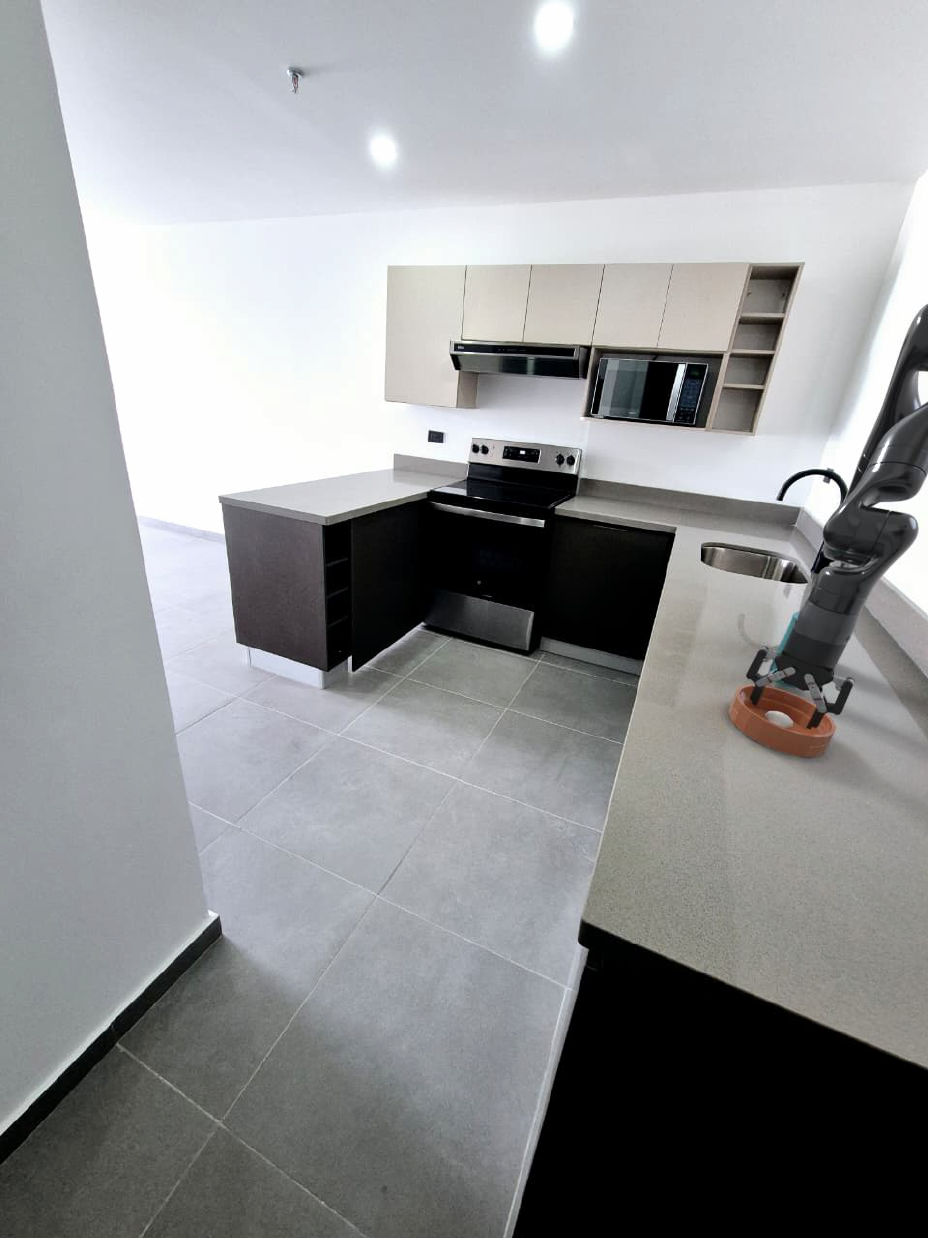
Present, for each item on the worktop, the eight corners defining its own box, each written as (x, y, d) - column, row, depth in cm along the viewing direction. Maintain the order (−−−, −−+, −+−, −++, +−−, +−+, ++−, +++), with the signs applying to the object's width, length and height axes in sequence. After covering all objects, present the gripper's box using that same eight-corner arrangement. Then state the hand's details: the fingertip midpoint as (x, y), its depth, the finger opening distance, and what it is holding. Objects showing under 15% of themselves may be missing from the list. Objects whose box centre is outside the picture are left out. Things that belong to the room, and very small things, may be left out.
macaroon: (791, 728, 86) (797, 716, 85) (785, 739, 83) (791, 727, 82) (765, 716, 89) (770, 705, 88) (758, 726, 85) (763, 715, 84)
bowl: (741, 695, 96) (749, 675, 94) (830, 734, 87) (842, 713, 85) (716, 724, 85) (725, 703, 83) (815, 772, 76) (828, 749, 74)
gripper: (876, 643, 76) (831, 727, 83) (777, 611, 85) (743, 689, 91) (872, 656, 71) (824, 745, 77) (766, 620, 79) (731, 703, 86)
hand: (780, 715), depth 84 cm, fingers open, 8 cm apart
